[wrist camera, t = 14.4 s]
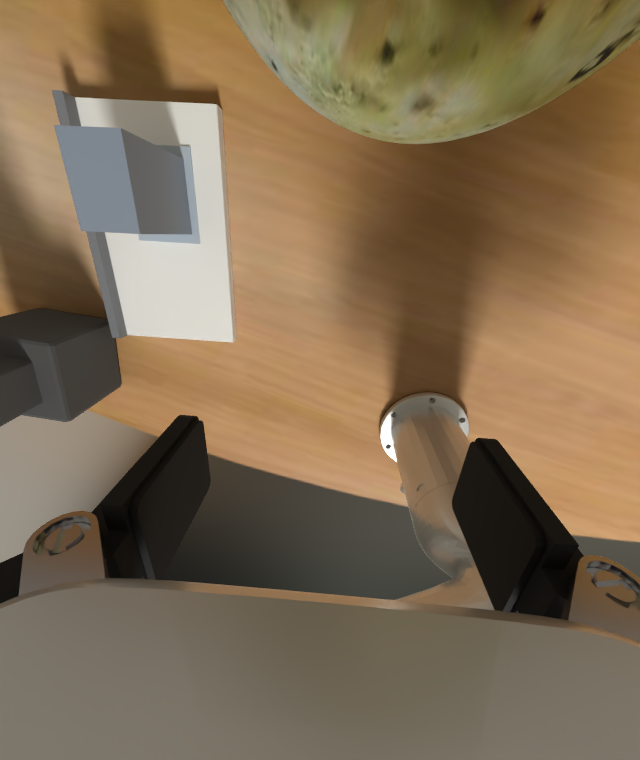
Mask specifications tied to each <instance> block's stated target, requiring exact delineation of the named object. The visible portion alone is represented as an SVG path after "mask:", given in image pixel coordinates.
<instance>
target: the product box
mask: <svg viewBox="0 0 640 760" xmlns="http://www.w3.org/2000/svg"><path fill="white" fill-rule="evenodd" d="M54 127H55V131H56V135H57V138H58V142H59V146H60V150H61V154H62V158H63V162H64V166H65V170H66V174H67V177H68V181H69V185H70V189H71V193H72V197H73V201H74V205H75V209H76V213H77V217H78V220H79V224H80V228H81V231H91V232H110V233H129V234H187V235H192V228H191V219H190V211H189V202H188V194H187V185H186V177H185V168H184V160H183V158H180V157H178V156H176V155H174V154H172V153H170V152H168V151H166V150H164V149H162V148H160V147H158V146H156V145H154V144H152V143H150V142H148V141H146V140H144V139H142V138H140V137H138V136H136V135H134V134H132V133H130V132H128V131H126V130H124V129H122V128H110V127H86V126H62V125H54Z"/></svg>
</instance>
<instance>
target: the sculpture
mask: <svg viewBox="0 0 640 760" xmlns="http://www.w3.org/2000/svg"><path fill="white" fill-rule="evenodd" d="M120 386H121V377H120V369H119V362H118V355H117V348H116V340H115V338H112V335H111V330H110V326H109V322H108V319H102V318H96V317H90V316H84V315H78V314H72V313H66V312H60V311H54V310H48V309H42V308H36V309H32V310H28V311H24V312H19V313H15V314H11V315H7V316H3V317H0V426H2V425H4V424H6V423H7V422H9V421H11V420H13V419H15V418H16V417H18V416H20V415H25V416H31V417H38V418H44V419H50V420H57V421H62V422H68V421H71V420H72V419H74V418H75V417H77V416H78V415H80V414H81V413H83V412H84V411H86V410H87V409H89V408H90V407H91V406H93V405H94V404H96V403H97V402H99V401H100V400H102V399H103V398H105V397H106V396H107V395H109V394H110V393H112V392H113V391H115V390H116V389H118V388H119V387H120Z"/></svg>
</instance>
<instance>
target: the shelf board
mask: <svg viewBox="0 0 640 760" xmlns="http://www.w3.org/2000/svg"><path fill="white" fill-rule="evenodd" d="M52 92H53V97H54V101H55V105H56V109H57V113H58V117H59V121H60V125H62V126H86V127H110V128H122V129H124V130H126V131H128V132H130V133H132V134H134V135H136V136H138V137H140V138H142V139H144V140H146V141H148V142H150V143H152V144H154V145H156V146H158V147H160V148H162V149H164V150H166V151H168V152H170V153H172V154H174V155H176V156H178V157H180V158H183V160H184V168H185V177H186V185H187V194H188V202H189V211H190V219H191V228H192V235H187V234H129V233H110V232H91V231H86V232H87V236H88V240H89V244H90V248H91V252H92V257H93V261H94V265H95V269H96V273H97V277H98V281H99V285H100V289H101V294H102V298H103V302H104V306H105V310H106V314H107V318H108V322H109V326H110V330H111V335H112V338H122V337H124V336H126V335H135V336H150V337H164V338H178V339H193V340H207V341H221V342H234V341H235V340H236V339H237V334H236V319H235V303H234V288H233V272H232V256H231V241H230V225H229V210H228V194H227V178H226V163H225V147H224V132H223V116H222V109H221V108H220V107H219V106H218V105H217V104H203V103H183V102H162V101H141V100H120V99H100V98H79V97H73V96H71V95H70V94H68V93H66V92H64V91H57V90H52Z"/></svg>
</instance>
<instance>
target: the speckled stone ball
mask: <svg viewBox="0 0 640 760" xmlns="http://www.w3.org/2000/svg"><path fill="white" fill-rule="evenodd" d="M223 2H224V4H225V5H226V7H227V9H228V10H229V12H230V14H231V15H232V17H233V18H234V20H235V22H236V23H237V25H238V26H239V28H240V30H241V31H242V32H243V34H244V35H245V37H246V38H247V40H248V41H249V43H250V44H251V45H252V47H253V48H254V49H255V51H256V52H257V53H258V55H259V56H260V57H261V58H262V60H263V61H264V62H265V64H266V65H267V66H268V67H269V68H270V69H271V70H272V71H273V73H274V74H275V75H276V76H277V77H278V78H279V79H280V80H281V81H282V82H283V83H284V84H285V85H286V86H287V87H288V88H289V89H290V90H291V91H292V92H293V93H294V94H295V95H296V96H297V97H299V98H300V99H301V100H302V101H304V102H305V103H306V104H307V105H308V106H310V107H311V108H312V109H314V110H315V111H316V112H318V113H319V114H321V115H322V116H324V117H325V118H327V119H329V120H330V121H332V122H334V123H335V124H337V125H339V126H341V127H344V128H346V129H348V130H350V131H352V132H355V133H358V134H360V135H363V136H366V137H370V138H373V139H377V140H381V141H386V142H394V143H401V144H428V143H439V142H446V141H451V140H457V139H461V138H465V137H469V136H472V135H476V134H480V133H483V132H486V131H489V130H492V129H494V128H497V127H499V126H502V125H504V124H507V123H509V122H511V121H513V120H515V119H518V118H520V117H522V116H524V115H526V114H529V113H530V112H532V111H534V110H536V109H538V108H540V107H541V106H543V105H545V104H547V103H549V102H550V101H552V100H554V99H556V98H557V97H559V96H561V95H562V94H564V93H565V92H567V91H568V90H570V89H572V88H573V87H575V86H576V85H578V84H579V83H581V82H582V81H584V80H585V79H587V78H588V77H589V76H591V75H592V74H594V73H595V72H597V71H598V70H599V69H601V68H602V67H604V66H605V65H606V64H607V63H609V62H610V61H611V60H612V59H614V58H615V57H616V56H618V55H619V54H620V53H621V52H623V51H624V50H625V49H626V48H628V47H629V46H630V45H632V44H633V43H634V42H635V41H637V40H638V39H639V38H640V0H223Z"/></svg>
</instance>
